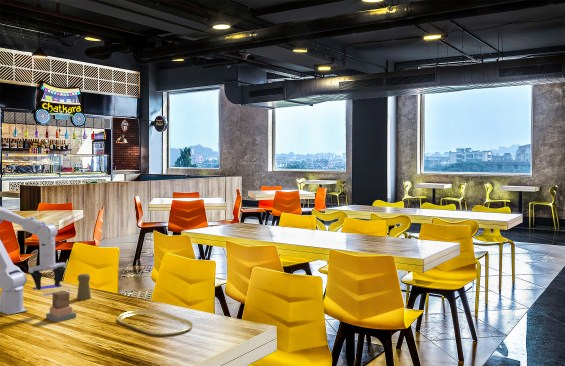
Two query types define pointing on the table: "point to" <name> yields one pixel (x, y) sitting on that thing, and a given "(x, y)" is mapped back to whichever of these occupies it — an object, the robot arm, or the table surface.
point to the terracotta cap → (60, 311)
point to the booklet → (48, 287)
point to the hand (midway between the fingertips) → (47, 287)
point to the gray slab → (60, 317)
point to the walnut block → (60, 299)
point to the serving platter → (156, 314)
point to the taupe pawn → (83, 287)
